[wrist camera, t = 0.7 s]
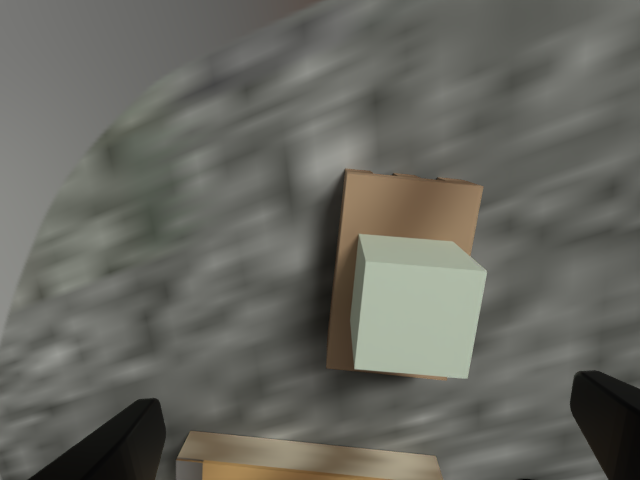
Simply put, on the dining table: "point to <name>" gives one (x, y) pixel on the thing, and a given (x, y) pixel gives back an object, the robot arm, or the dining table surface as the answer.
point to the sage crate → (414, 306)
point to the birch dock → (294, 461)
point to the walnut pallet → (397, 221)
